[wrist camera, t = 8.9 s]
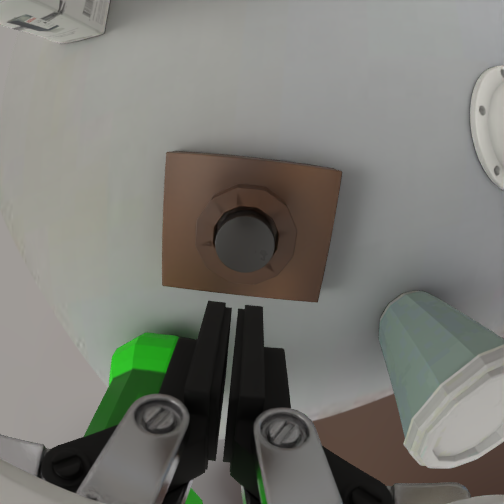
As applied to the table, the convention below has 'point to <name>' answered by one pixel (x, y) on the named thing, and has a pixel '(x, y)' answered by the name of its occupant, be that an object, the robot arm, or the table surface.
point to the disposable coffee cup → (443, 379)
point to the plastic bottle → (135, 381)
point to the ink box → (56, 18)
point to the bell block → (255, 199)
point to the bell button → (245, 241)
